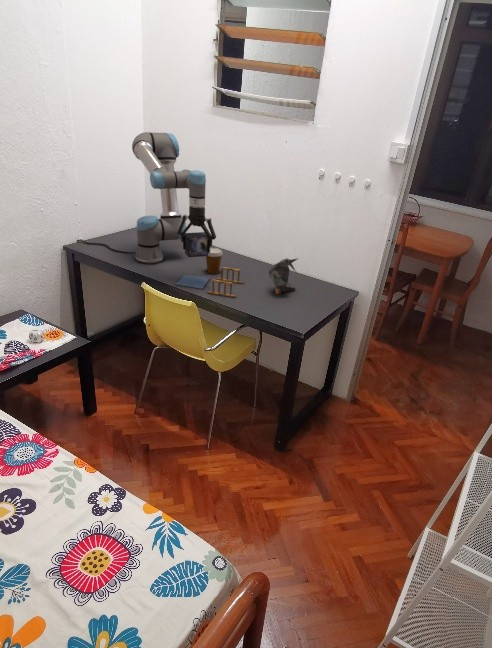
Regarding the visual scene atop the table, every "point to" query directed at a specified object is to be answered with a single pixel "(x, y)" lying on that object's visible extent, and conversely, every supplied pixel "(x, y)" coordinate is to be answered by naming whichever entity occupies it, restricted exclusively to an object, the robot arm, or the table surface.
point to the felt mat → (192, 281)
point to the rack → (225, 282)
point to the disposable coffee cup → (213, 260)
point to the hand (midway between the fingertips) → (196, 250)
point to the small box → (196, 244)
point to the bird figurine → (281, 275)
